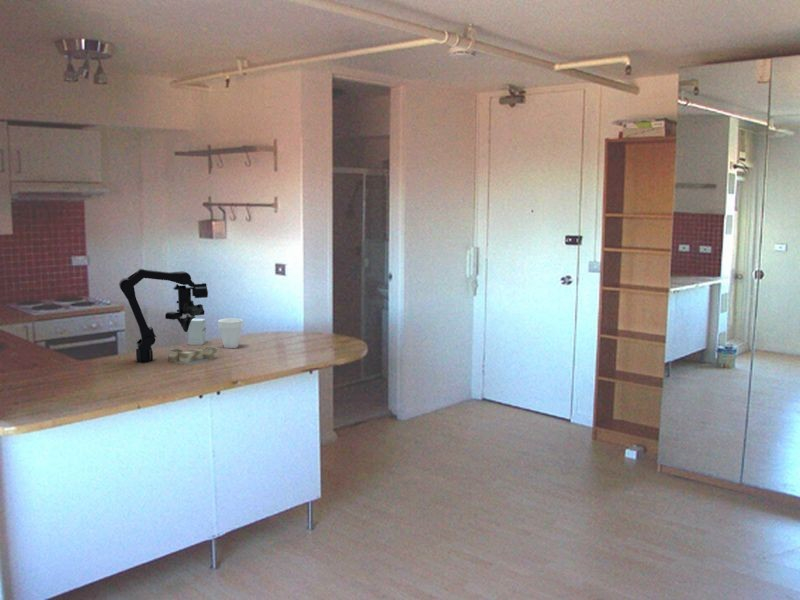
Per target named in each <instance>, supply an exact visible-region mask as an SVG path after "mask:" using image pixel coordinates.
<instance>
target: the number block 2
mask: <svg viewBox="0 0 800 600" xmlns="http://www.w3.org/2000/svg"><path fill="white" fill-rule="evenodd" d="M202 349H203V358H204V359H210V360H209V361H211V359H212V360H216V359H219V357H218V348H217V347H210V346H209V347H206V348H202ZM215 358H216V359H215Z"/></svg>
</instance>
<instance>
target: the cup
mask: <svg viewBox="0 0 800 600" xmlns="http://www.w3.org/2000/svg"><path fill="white" fill-rule="evenodd" d="M243 321H244V320H243V318H238V317H235V318H234V317H233V318H231V317H230V318H229V317H228V318H227V317H226V318H221V319H218V320H217V327H218V329H219V333H220V337H221V340H222V343H223V347H224V348H225V349H236V348H239V344H240V339H241V334H242V330H243V326H244V323H243Z"/></svg>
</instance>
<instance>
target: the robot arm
mask: <svg viewBox="0 0 800 600" xmlns="http://www.w3.org/2000/svg"><path fill="white" fill-rule="evenodd" d="M143 279H151V280H160V281H168V282H172V283H176V285H175V286H174V287H173V290H175V291H177V298H178V299H177V300H176V304H178V309H176V311H169V312H166V313H165V315H164V316H165V318H164V319H165V320H177V321H178V322H179V324H180V325H181V328H182V330H183V332H185V333H188V328H189V325H190V322H191V320H192V319H196V316H203V315H205V309H204V307H203V306H204V305H203V304H201V303H200V304H194V300H192V297H194V299H206V298H208V296H209V295H208V294H209V290H208V287H207V283H206V282H202V283H195V282H194V281H193V280H192V277H191V275H190V273H188V272H186V271H169V272H168V271H158V270H151V269H144V268H139V269H138V270H137V271H136V272H133V273H132V274H131V275H130V276H128V277H127V278H126V277H125V278H122V279H120V281H119V283H118V287H119V289H120V290H121V292H122V293H123V295H124V296H125V298H126V299H127V302H128V304H129V307H130V309H131V312H132V314H133V316H134V318H135V321H136V324H137V326H138V331H139V336H140V338H139V340H137V341H136V346H137V348H136V349H135V354H136V355H135V356H136V357H135V358H136V360H134V362H135V363H140V364H141V363H142V364H145V363H151V362H155V359H153V358H154V353H153V348H152V346H153V345H154V344H155V342H156V337H157V335H156V334H155V333H154V332H155V330H154V328H153V327H152V326H148V324H147V322H146V319H145V317H144V315H143V312H142V309H141V307H140V305H139V304H140V303H139V302H138V299H137V297H136V290H135V286H136V285H137V284H138V283H140V282H141V281H142V280H143ZM179 284H180V285H179ZM186 285H187V286H188V287H187V286H186Z"/></svg>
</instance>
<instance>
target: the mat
mask: <svg viewBox="0 0 800 600" xmlns="http://www.w3.org/2000/svg"><path fill="white" fill-rule="evenodd" d="M216 359H217V358H215V359H214V360H216ZM211 360H213V359H211ZM211 360H210V359H204V358H203V359H199V360H194V361H190V362H181V361H177V362H176V363H177V364H178V363H179V364H184V365H189V366H190V365H191V366H192V365H194V364H198V363H203V362H207V361H211ZM172 362H173V363H175V362H174V361H172Z"/></svg>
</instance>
